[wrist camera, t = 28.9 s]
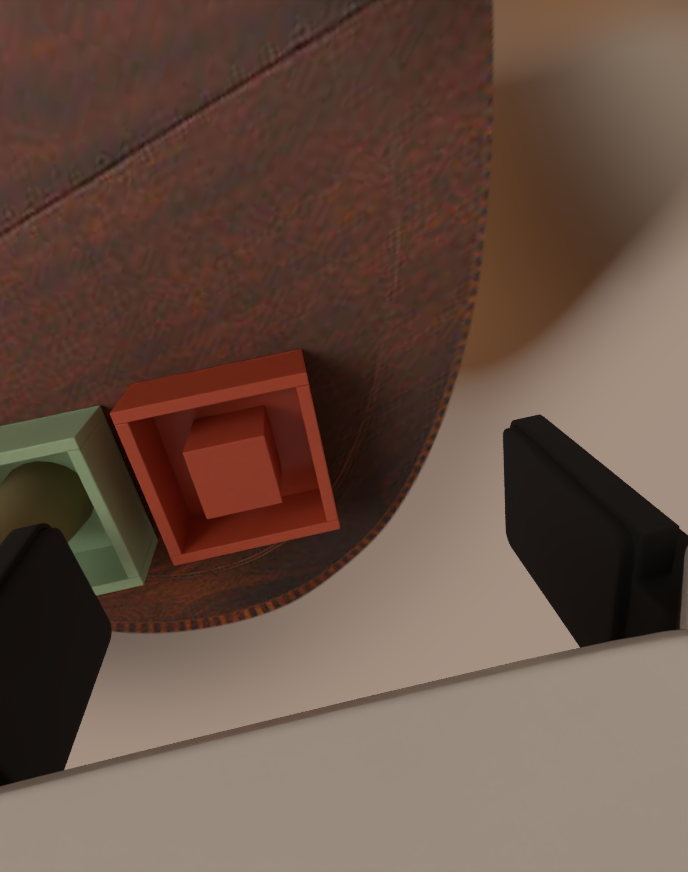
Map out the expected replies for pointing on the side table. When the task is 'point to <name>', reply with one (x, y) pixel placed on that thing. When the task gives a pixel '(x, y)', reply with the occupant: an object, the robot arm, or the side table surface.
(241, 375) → the rust bin
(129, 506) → the sage bin
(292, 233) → the side table surface
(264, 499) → the rust block
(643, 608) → the robot arm
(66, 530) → the olive brown pawn
